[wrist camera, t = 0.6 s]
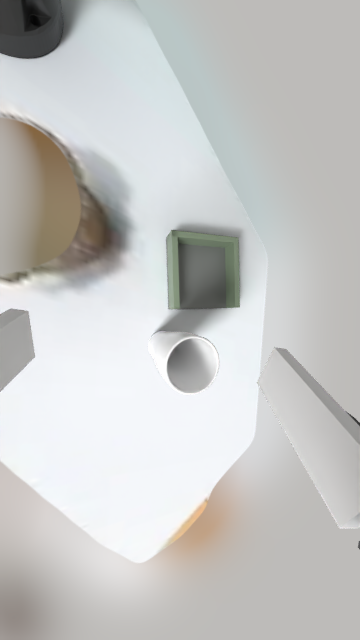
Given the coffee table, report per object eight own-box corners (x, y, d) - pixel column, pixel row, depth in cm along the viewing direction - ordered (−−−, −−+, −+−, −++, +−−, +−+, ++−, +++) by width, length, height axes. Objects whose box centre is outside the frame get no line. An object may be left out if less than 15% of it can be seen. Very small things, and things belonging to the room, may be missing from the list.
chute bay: (166, 238, 35) (171, 230, 32) (227, 244, 39) (238, 237, 36) (168, 309, 36) (174, 308, 32) (229, 307, 40) (239, 307, 36)
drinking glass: (143, 364, 34) (164, 400, 20) (143, 327, 34) (163, 336, 20) (179, 361, 37) (220, 391, 22) (179, 326, 36) (220, 333, 22)
